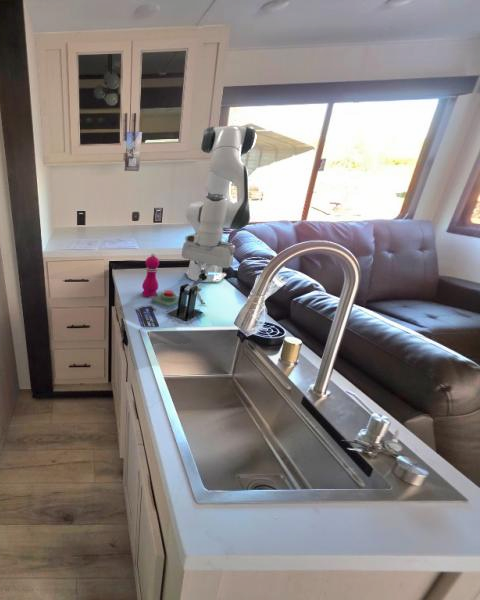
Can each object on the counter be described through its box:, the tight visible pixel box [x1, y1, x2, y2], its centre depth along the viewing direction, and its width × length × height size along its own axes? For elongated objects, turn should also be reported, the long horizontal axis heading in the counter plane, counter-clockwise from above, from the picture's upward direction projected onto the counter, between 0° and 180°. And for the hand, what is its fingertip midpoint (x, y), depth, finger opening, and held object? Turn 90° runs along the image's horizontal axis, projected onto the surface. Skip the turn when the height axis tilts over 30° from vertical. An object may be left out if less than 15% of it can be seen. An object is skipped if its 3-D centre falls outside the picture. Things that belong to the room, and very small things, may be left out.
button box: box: [151, 291, 179, 309], centre depth 138 cm, size 11×9×4 cm
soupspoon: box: [189, 284, 206, 305], centre depth 145 cm, size 22×3×7 cm
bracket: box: [166, 283, 204, 323], centre depth 125 cm, size 12×9×13 cm
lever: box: [184, 273, 207, 296], centre depth 125 cm, size 13×3×3 cm, turn 129°
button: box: [164, 289, 174, 297], centre depth 137 cm, size 4×4×2 cm
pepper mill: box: [141, 253, 160, 298], centre depth 143 cm, size 7×7×20 cm
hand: (203, 273), depth 126 cm, fingers closed
